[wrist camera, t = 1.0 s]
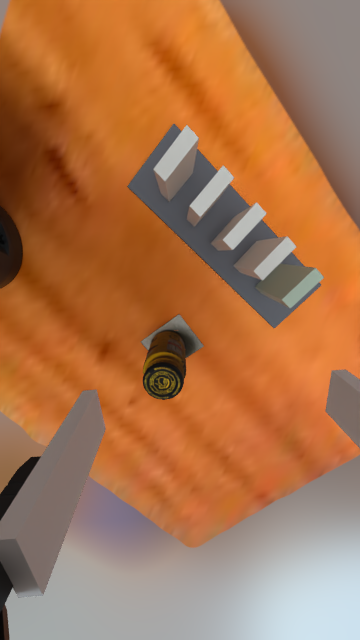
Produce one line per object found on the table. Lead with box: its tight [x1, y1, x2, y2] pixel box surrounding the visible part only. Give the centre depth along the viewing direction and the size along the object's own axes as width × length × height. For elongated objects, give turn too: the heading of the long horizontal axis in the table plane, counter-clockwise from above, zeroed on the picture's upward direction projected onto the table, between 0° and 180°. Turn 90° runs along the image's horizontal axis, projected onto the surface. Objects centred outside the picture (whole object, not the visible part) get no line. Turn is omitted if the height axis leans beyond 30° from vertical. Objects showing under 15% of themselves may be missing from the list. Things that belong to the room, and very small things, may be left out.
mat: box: [127, 124, 321, 328], centre depth 34 cm, size 32×10×1 cm, turn 48°
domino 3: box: [211, 202, 267, 251], centre depth 29 cm, size 2×5×10 cm, turn 138°
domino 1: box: [153, 125, 199, 202], centre depth 27 cm, size 2×5×10 cm, turn 138°
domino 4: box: [233, 237, 296, 280], centre depth 30 cm, size 2×5×10 cm, turn 138°
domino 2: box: [187, 166, 234, 227], centre depth 28 cm, size 2×5×10 cm, turn 138°
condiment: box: [141, 315, 203, 400], centre depth 34 cm, size 7×8×12 cm
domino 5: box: [255, 264, 324, 308], centre depth 31 cm, size 2×5×10 cm, turn 138°
